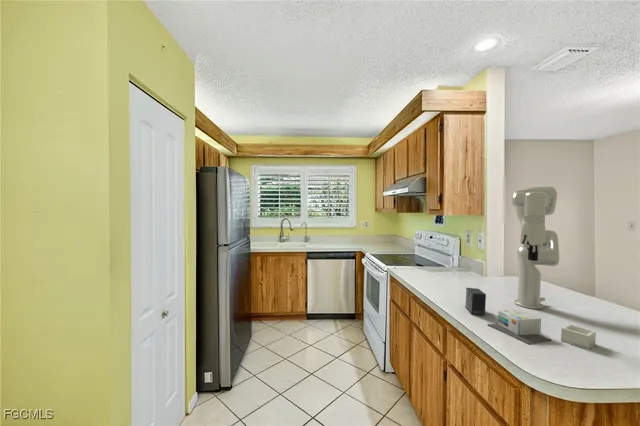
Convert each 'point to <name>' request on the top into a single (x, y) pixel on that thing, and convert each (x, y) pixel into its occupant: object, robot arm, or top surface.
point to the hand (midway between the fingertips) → (532, 260)
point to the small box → (475, 301)
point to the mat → (524, 338)
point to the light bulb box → (519, 322)
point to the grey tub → (578, 336)
